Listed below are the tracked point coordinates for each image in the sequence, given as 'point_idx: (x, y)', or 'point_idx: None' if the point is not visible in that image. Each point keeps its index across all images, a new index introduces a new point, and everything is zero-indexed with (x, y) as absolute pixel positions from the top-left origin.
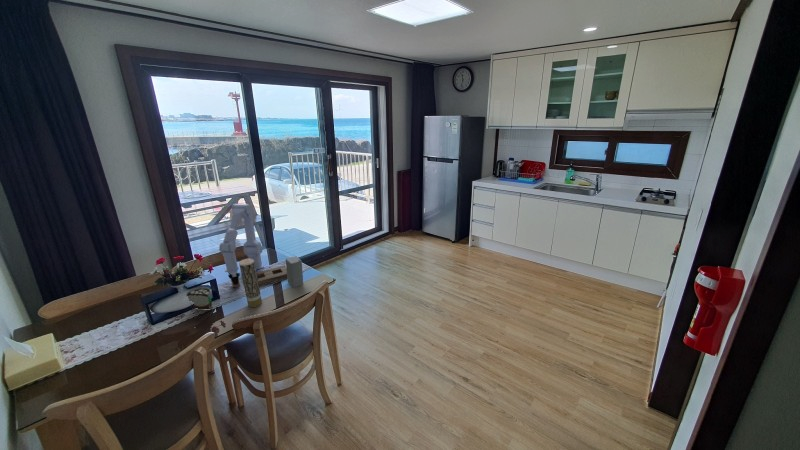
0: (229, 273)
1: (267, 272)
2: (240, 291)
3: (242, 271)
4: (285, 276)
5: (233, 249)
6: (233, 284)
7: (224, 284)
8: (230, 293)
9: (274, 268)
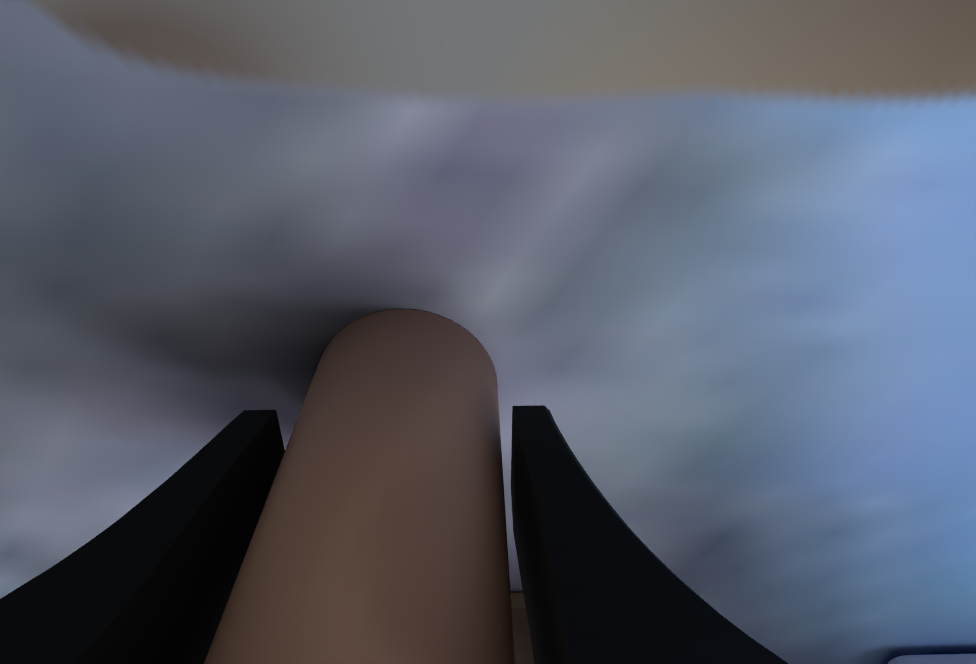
0: (565, 646)
1: None
2: (50, 436)
3: None
4: None
5: None
6: (313, 394)
7: (681, 127)
8: (6, 232)
9: None
